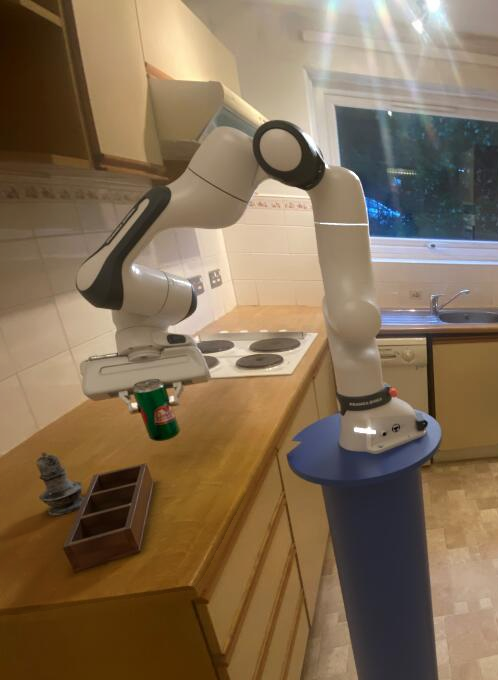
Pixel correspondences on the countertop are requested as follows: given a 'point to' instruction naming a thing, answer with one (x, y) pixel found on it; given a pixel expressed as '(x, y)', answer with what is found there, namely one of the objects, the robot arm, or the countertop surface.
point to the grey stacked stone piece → (58, 486)
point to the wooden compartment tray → (110, 518)
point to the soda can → (156, 409)
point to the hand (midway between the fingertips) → (155, 408)
